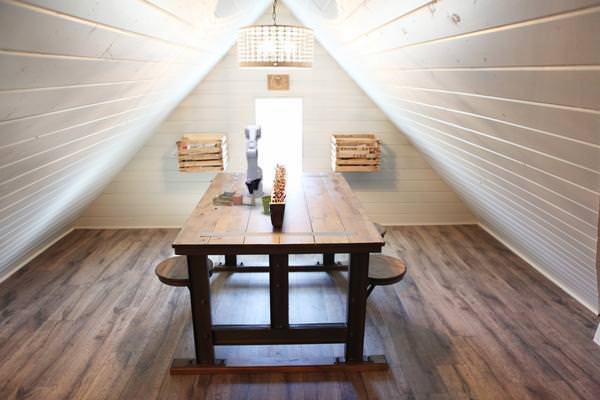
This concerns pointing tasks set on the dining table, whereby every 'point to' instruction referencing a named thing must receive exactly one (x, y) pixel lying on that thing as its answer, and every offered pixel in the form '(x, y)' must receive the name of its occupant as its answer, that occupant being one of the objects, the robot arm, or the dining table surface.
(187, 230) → the dining table surface
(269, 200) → the plant pot
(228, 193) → the grey block
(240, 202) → the tethered block
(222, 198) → the lane shelf
